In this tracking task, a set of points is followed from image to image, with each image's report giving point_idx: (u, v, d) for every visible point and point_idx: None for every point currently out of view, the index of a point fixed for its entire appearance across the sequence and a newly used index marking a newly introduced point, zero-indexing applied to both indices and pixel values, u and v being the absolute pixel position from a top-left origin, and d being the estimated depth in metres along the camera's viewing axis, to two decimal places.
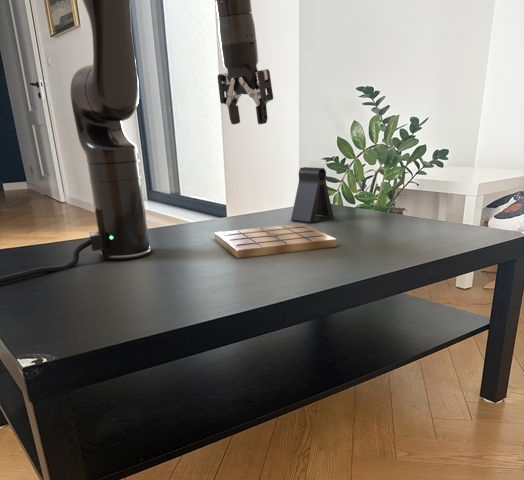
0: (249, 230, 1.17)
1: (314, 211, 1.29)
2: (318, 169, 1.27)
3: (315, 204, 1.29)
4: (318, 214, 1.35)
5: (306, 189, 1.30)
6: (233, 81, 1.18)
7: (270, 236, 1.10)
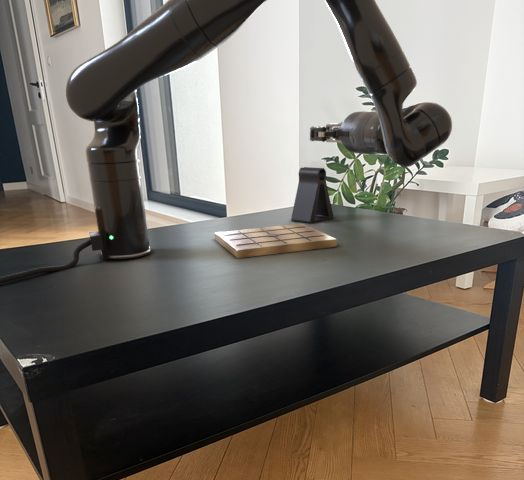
0: (249, 230, 1.17)
1: (314, 211, 1.29)
2: (318, 169, 1.27)
3: (315, 204, 1.29)
4: (318, 214, 1.35)
5: (306, 189, 1.30)
6: None
7: (270, 236, 1.10)
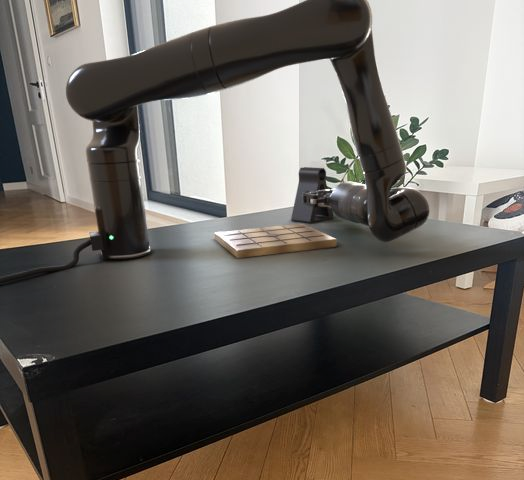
0: (249, 230, 1.17)
1: (314, 211, 1.29)
2: (318, 169, 1.27)
3: None
4: (318, 214, 1.35)
5: (306, 189, 1.30)
6: None
7: (270, 236, 1.10)
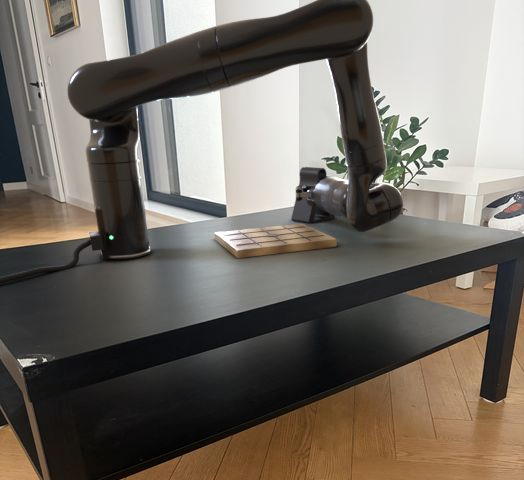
0: (249, 230, 1.17)
1: (314, 211, 1.29)
2: (318, 169, 1.27)
3: (314, 204, 1.29)
4: (319, 214, 1.35)
5: None
6: None
7: (270, 236, 1.10)
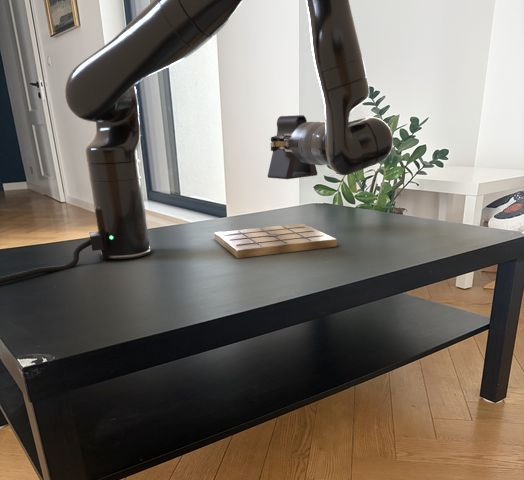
0: (249, 230, 1.17)
1: (292, 165, 1.13)
2: (296, 116, 1.10)
3: (293, 157, 1.12)
4: (300, 171, 1.19)
5: None
6: None
7: (270, 236, 1.10)
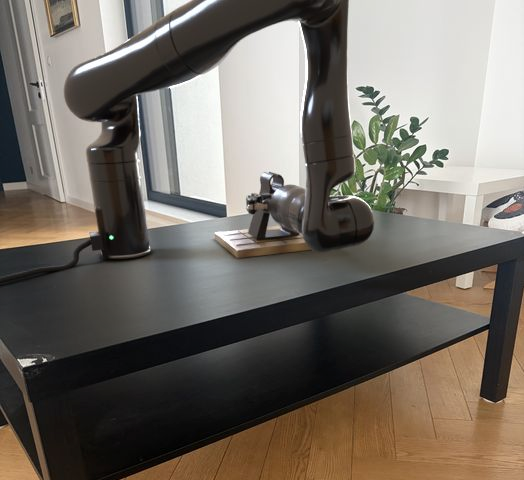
0: None
1: (265, 226, 1.06)
2: (271, 175, 1.04)
3: (265, 218, 1.06)
4: (285, 230, 1.11)
5: None
6: None
7: None
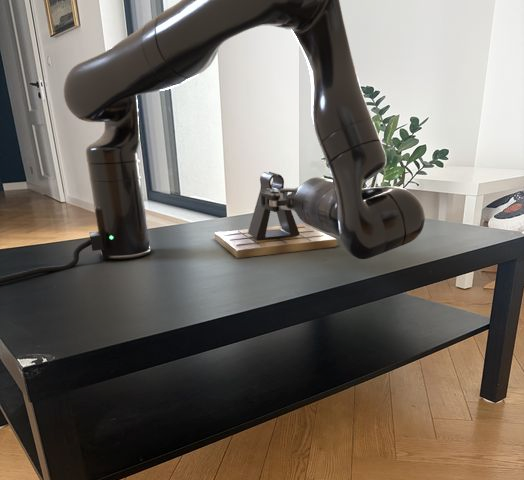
0: None
1: (265, 226, 1.06)
2: (271, 175, 1.04)
3: (265, 218, 1.06)
4: (285, 230, 1.11)
5: None
6: None
7: None
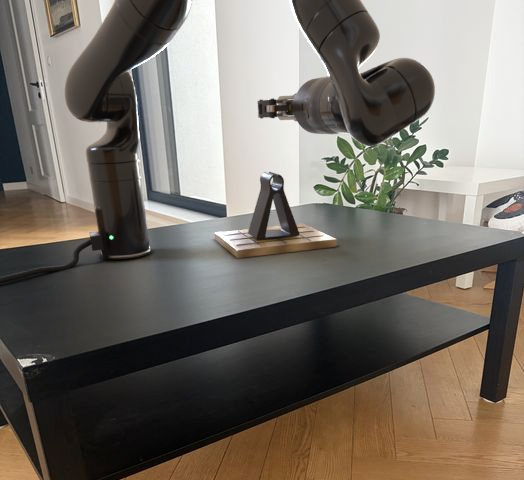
0: None
1: (265, 226, 1.06)
2: (271, 175, 1.04)
3: (265, 218, 1.06)
4: (285, 230, 1.11)
5: (262, 199, 1.07)
6: None
7: None
